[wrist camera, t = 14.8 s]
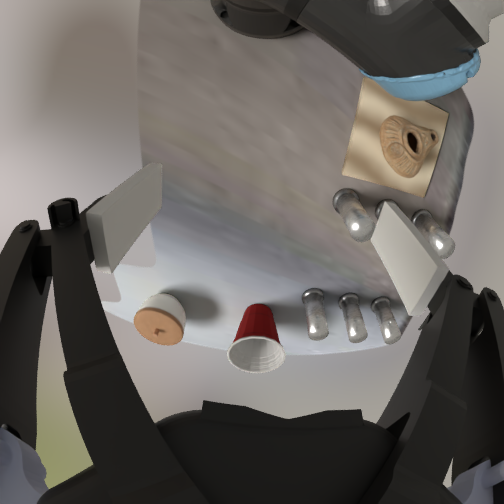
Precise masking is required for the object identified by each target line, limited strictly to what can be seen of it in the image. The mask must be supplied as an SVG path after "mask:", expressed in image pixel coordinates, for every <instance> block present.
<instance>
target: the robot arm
mask: <svg viewBox="0 0 504 504" xmlns="http://www.w3.org/2000/svg"><path fill="white" fill-rule="evenodd" d="M211 5H212V8H213V10H214V12H215V13H216V15H217V16H218V17H219V19H220V20H221V21H222V22H223V23H224V24H225V25H226V26H227V27H229V28H230V29H232V30H234V31H235V32H237V33H240V34H242V35H245V36H249V37H253V38H262V39H271V38H280V37H284V36H288V35H291V34H293V33H295V32H297V31H299V30H301V29H302V28H304V27H305V28H306V29H308V30H309V31H311V32H312V33H314V34H315V35H317V36H318V37H319V38H321V39H322V40H324V41H325V42H326V43H328V44H329V45H330V46H332V47H333V48H334V49H336V50H337V51H338V52H340V53H341V54H342V55H344V56H345V57H346V58H347V59H348V60H350V61H351V62H352V63H353V64H355V65H356V66H357V67H358V68H359V70H360V72H362V73H363V74H364V75H365V76H367V77H369V78H371V79H373V80H374V81H375V82H376V83H377V84H378V85H380V86H381V87H382V88H383V89H384V90H385V91H386V92H388V93H389V94H390V95H392V96H394V97H396V98H400V99H403V100H407V101H424V100H430V99H434V98H437V97H441V96H444V95H446V94H449V93H451V92H453V91H455V90H457V89H459V88H460V87H462V86H463V85H465V84H466V83H467V82H468V81H467V78H469V77H474V76H475V74H476V73H477V72H478V70H479V67H480V63H481V60H480V56H479V51H478V49H477V48H478V47H480V46H482V45H484V44H486V43H488V42H489V23H490V20H491V19H493V18H495V17H497V16H499V15H501V14H503V13H504V0H211ZM161 208H162V164H159V163H149V164H148V165H146V166H145V167H143V168H142V169H141V170H139V171H138V172H137V173H135V174H134V175H132V176H131V177H130V178H128V179H127V180H126V181H124V182H123V183H122V184H120V185H119V186H118V187H117V188H115V189H114V190H113V191H111V192H110V193H109V194H108V195H105V196H103V197H100V198H98V199H97V200H96V201H94V202H93V203H92V204H91V205H90V206H88V208H86V209H85V210H84V211H82V212H81V213H80V214H79V209H78V202H77V200H76V199H74V198H63V199H60V200H57V201H55V202H53V203H51V204H50V205H49V206H48V208H47V209H48V214H49V219H50V224H51V229H49V230H40V227H39V223H38V221H36V220H28V221H27V220H26V221H24V222H21V223H20V224H19V225H18V226H16V228H15V229H14V230H13V232H12V233H11V236H10V237H9V239H8V241H7V242H6V244H5V246H4V248H3V250H2V252H1V254H0V504H504V309H503V306H502V304H501V301H500V299H499V297H498V296H497V293H495V291H493V290H491V289H489V288H487V287H486V288H483V290H482V291H481V293H480V295H478V294H476V293H474V292H473V287H472V285H471V284H470V283H469V282H468V281H467V279H465V278H464V277H462V276H460V275H453V274H452V273H451V272H450V270H449V268H448V267H447V265H446V264H445V263H444V261H443V260H442V259H441V257H440V256H439V255H438V253H437V252H436V251H435V250H434V248H433V247H432V246H431V245H430V243H429V242H428V241H427V240H426V239H425V237H424V236H423V235H422V234H421V233H420V231H419V230H418V229H417V228H416V227H415V225H414V224H413V223H412V222H411V221H410V220H409V219H408V217H407V216H406V215H405V214H404V213H403V212H402V211H401V210H400V209H399V208H398V206H397V205H396V204H393V203H390V202H386V201H385V202H384V205H383V208H382V211H381V214H380V216H379V219H378V222H377V225H376V227H375V230H374V233H373V235H372V238H371V242H372V244H373V245H374V247H375V249H376V251H377V253H378V254H379V256H380V258H381V260H382V262H383V264H384V266H385V267H386V269H387V271H388V273H389V275H390V277H391V279H392V281H393V283H394V285H395V287H396V289H397V291H398V293H399V295H400V297H401V299H402V301H403V303H404V306H405V308H406V310H407V312H408V314H409V315H410V316H421V315H422V314H423V312H424V311H425V309H426V308H427V306H428V308H429V310H430V313H429V315H428V316H427V318H426V319H425V321H424V322H423V324H422V325H421V326H420V328H419V329H418V330H421V329H422V331H421V334H420V336H419V339H418V341H417V344H416V346H415V349H414V351H413V354H412V356H411V358H410V360H409V363H408V365H407V367H406V369H405V371H404V374H403V376H402V378H401V380H400V382H399V384H398V386H397V388H396V390H395V392H394V394H393V395H392V397H391V399H390V401H389V403H388V405H387V407H386V408H385V410H384V412H383V414H382V416H381V417H380V419H379V420H378V422H377V423H376V424H375V423H373V422H370V421H367V420H363V417H362V411H361V409H357V410H328V411H323V412H319V413H315V414H311V415H307V416H302V417H297V418H292V419H284V418H281V417H277V416H274V415H271V414H267V413H264V412H261V411H258V410H255V409H252V408H249V407H246V406H239V405H230V404H224V403H217V402H211V401H205V400H204V401H203V406H202V410H192V411H187V412H181V413H178V414H174V415H171V416H169V417H166V418H164V419H162V420H161V421H158V422H157V423H154V422H153V420H152V418H151V416H150V414H149V413H148V411H147V409H146V407H145V405H144V403H143V401H142V399H141V397H140V395H139V394H138V391H137V389H136V387H135V385H134V383H133V381H132V379H131V377H130V374H129V372H128V370H127V368H126V366H125V363H124V361H123V359H122V356H121V354H120V352H119V350H118V348H117V345H116V343H115V340H114V338H113V335H112V332H111V330H110V327H109V324H108V321H107V319H106V316H105V313H104V310H103V307H102V304H101V300H100V297H99V294H98V291H97V288H96V284H95V281H94V277H93V273H92V270H91V266H90V264H91V263H92V262H93V261H95V265H96V269H97V271H100V272H104V273H109V274H112V273H113V271H114V270H115V268H116V267H117V266H118V264H119V263H120V261H121V260H122V258H123V257H124V256H125V254H126V253H127V252H128V250H129V249H130V247H131V246H132V245H133V243H134V242H135V241H136V239H137V238H138V237H139V235H140V234H141V233H142V231H143V230H144V229H145V228H146V226H147V225H148V224H149V223H150V221H151V220H152V219H153V218H154V216H155V215H156V214H157V213H158V211H159V210H160V209H161ZM52 276H53V287H54V296H55V305H56V313H57V320H58V325H59V332H60V337H61V342H62V347H63V352H64V357H65V361H66V365H67V371H65V372H64V382H65V386H66V390H67V393H68V397H69V400H70V403H71V406H72V410H73V413H74V416H75V419H76V422H77V425H78V427H79V430H80V433H81V435H82V438H83V440H84V443H85V445H86V448H87V450H88V452H89V455H90V457H91V459H92V462H93V465H92V466H90V467H88V468H87V469H85V470H83V471H82V472H80V473H78V474H76V475H75V476H73V477H71V478H69V479H68V480H66V481H64V482H62V483H60V484H58V485H57V486H55V487H53V488H51V489H48V487H47V486H46V484H45V481H44V479H45V478H46V469H45V467H44V466H43V464H42V463H41V460H40V457H39V456H38V454H37V452H36V451H35V450H36V437H37V416H36V415H37V414H36V390H37V389H36V388H37V370H38V358H39V347H40V340H41V332H42V325H43V319H44V313H45V308H46V303H47V298H48V293H49V289H50V284H51V280H52ZM482 329H483V330H482ZM481 331H482V332H481ZM480 332H481V333H480ZM479 333H480V334H479ZM452 458H453V464H452V486H451V487H448V488H446V487H445V486H444V485H443V484H442V483H443V481H444V479H445V476H446V474H447V471H448V469H449V466H450V464H451V461H452Z"/></svg>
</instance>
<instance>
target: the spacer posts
mask: <svg viewBox="0 0 504 504" xmlns="http://www.w3.org/2000/svg"><path fill="white" fill-rule="evenodd" d="M385 201H386V202H390V203H393V204H396V203H395V202H394V201H393V200H391V199H385V200H382V201H381V202H380V203H379V204H378V205H377V207H376V210H375V215H376V217H377V219H379V216H380V214H381V211H382V208H383V205H384V202H385ZM396 205H397V204H396ZM333 206H334V208H335V210H336V211H337V212H338V213H339V214H341V216H342V218H343V220H344V222H345V224H346V226H347V228H348V230H349V232H350V234H351V236H352V238H353V239H354V240H355V241H357V242H365V241H368V240H369V239H371V238H372V235H373V233H374V230H375V224H374V222H373V221H372V219H371V218H370V216H369V215H368V214H367V212H366V211H365V209H364V208H363V206H362V205H361V204H360V202H359V197H358V196H357V194H356V193H355V192H354V191H353V190H351V189H341V190H339V191H338V192H337V193H336V194H335V195H334V198H333ZM397 206H398V205H397ZM398 208H399V207H398ZM411 222H412V223H413V224H414V225H415V227H416V228H417V229H418V230H419V231H420V233H421V234H422V235H423V236H424V237H425V239H426V240H427V241H428V242H429V243H430V245H431V246H432V247H433V248H434V250H435V251H436V252H437V253H438V255H439V256H440V257H441V258H442V259H445V258H448V257H449V256H450V255H451V254H452V253H453V251H454V249H455V243H454V241H453V240H452V239H451V238H450V236H449V235H448V234H447V233H446V232H445V231H444V230H443V229H442V228H441V227H440V226H439V225H438V224H437V223H436V222H435V221H434V220H433V219H432V216H431V214H430V213H429V212H428V211H427V210H425V209H421V210H418V211H417V212H415V214H414V215H413V217H412V220H411ZM323 300H324V295H323V292H322V291H321V290H320V289H317V288H311V289H308V290H306V291H305V292H304V293H303V295H302V301H303V303H304V304H305V309H306V318H307V326H308V335H309V338H310V339H312V340H322V339H324V338H326V337H327V336H328V334H329V332H328V326H327V321H326V316H325V310H324V305H323ZM338 304H339V307H340V309H342V312H343V316H344V320H345V324H346V328H347V332H348V336H349V340H350V342H352V343H359V342H362V341H364V340H365V339H366V338H367V336H368V334H367V330H366V327H365V324H364V320H363V317H362V314H361V311H360V308H359V298H358V296H357V295H356V294H354V293H347V294H344V295H343V296H341V297H340V299H339V301H338ZM371 309H372V311H373V312H374V313H375V315H376V318H377V320H378V323H379V326H380V329H381V332H382V335H383V338H384V341H385V343H386V344H393V343H395V342H397V341H398V340H399V339H400V338H401V333H400V331H399V328H398V325H397V323H396V320H395V318H394V315H393V313H392V311H391V308H390V301H389V299H388V298H387V297H379V298H377V299H375V300H374V301H373V302H372V304H371Z"/></svg>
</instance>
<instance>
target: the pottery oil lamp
mask: <svg viewBox="0 0 504 504" xmlns="http://www.w3.org/2000/svg"><path fill="white" fill-rule="evenodd" d="M379 135H380V143H381V148H382V152H383V155H384V157H385V159H386V161H387V163H388V164H389V165H390V167H391V168H392V169H393V170H394V171H395V172H396V173H397V174H398V175H400V176H402V177H405V178H413V177H414V176H416V175H417V174H418V172H419V171H420V169H421V167H422V165H423V162H424V159H425V158H426V156H427V155H428V153H429V152H430V151H431V149H432V148H433V147H434V146H435V145H436V144H437V143H438V141H439V137H438V135H437V133H436V132H435V131H434V130H433V129H428V128H426V127H421V126H417V125H414V124H413V123H411V122H409V121H407V120H406V119H404V118H403V117H400V116H396V115H392V116H389V117H388V118H386V119H385V120H384V122H383V123H382V125H381V128H380V133H379Z"/></svg>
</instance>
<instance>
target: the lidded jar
mask: <svg viewBox="0 0 504 504" xmlns="http://www.w3.org/2000/svg"><path fill="white" fill-rule="evenodd" d="M185 323H186V315H185V311H184V309H183V307H182V305H181V304H180V302H179V301H178V299H176V298H175V297H174V296H172V295H170V294H165V293H162V294H156V295H153V296H151V297H149V298H148V299H146V300H145V301H144V302H143V303H142V305H141V306H140V308H139V310H138V312H137V313H136V315H135V317H134V325H135V327H136V329H137V331H138V332H139V333H140V334H141V335H142V336H143V337H145V338H146V339H148V340H150V341H152V342H154V343H157V344H161V345H174V344H177V343H178V342H180V341H181V340H182V338H183V334H184V329H185Z"/></svg>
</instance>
